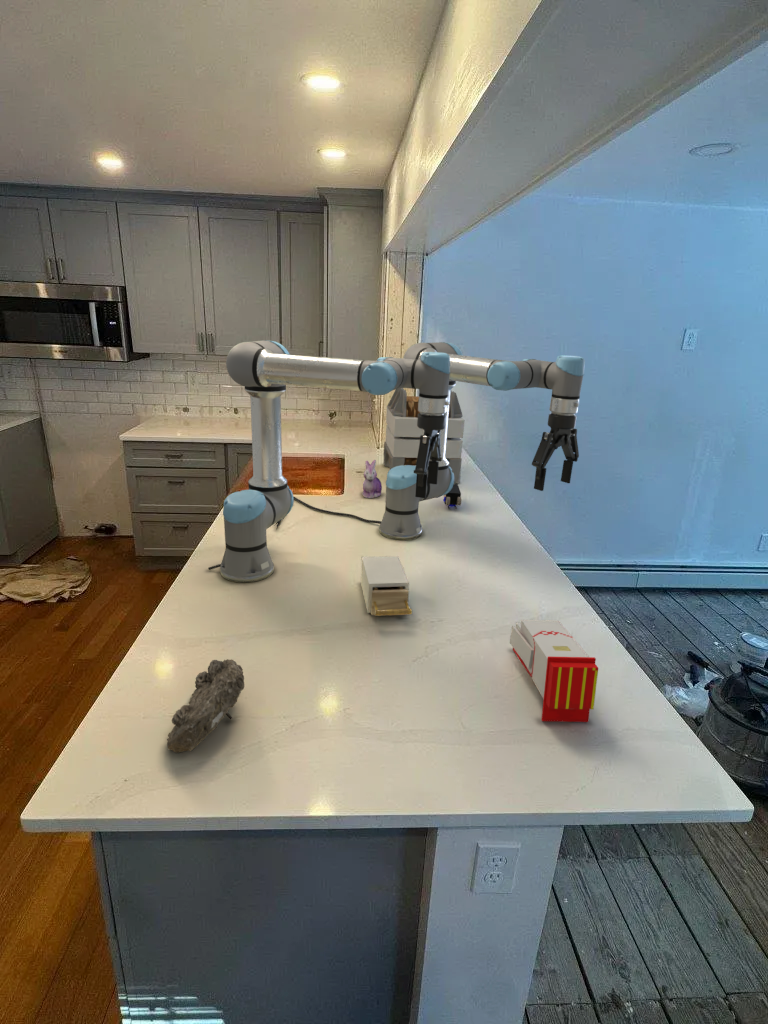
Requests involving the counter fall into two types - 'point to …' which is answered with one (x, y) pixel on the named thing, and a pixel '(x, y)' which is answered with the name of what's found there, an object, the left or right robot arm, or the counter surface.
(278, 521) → the feather
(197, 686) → the fossil
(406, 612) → the drawer
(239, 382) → the left robot arm
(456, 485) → the figurine character
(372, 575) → the cabinet
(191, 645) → the counter surface
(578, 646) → the toy
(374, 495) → the figurine
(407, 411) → the white slatted crate
